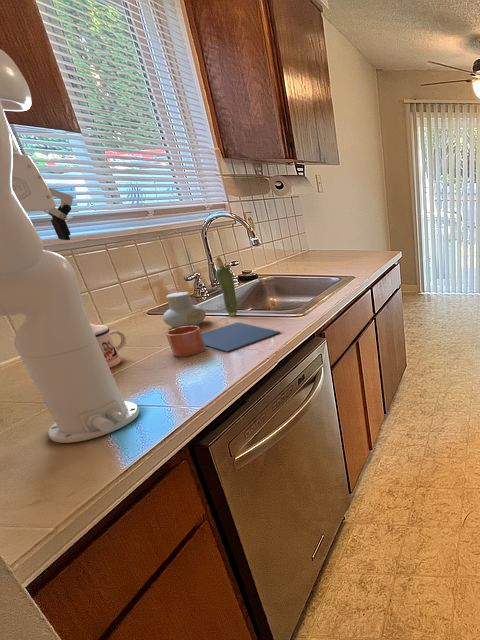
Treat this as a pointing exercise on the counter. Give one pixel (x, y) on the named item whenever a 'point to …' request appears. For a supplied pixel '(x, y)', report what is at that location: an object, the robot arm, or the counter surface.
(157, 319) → the counter surface
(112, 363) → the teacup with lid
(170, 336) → the terracotta flower pot
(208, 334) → the mat
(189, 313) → the air freshener
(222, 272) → the vegetable
